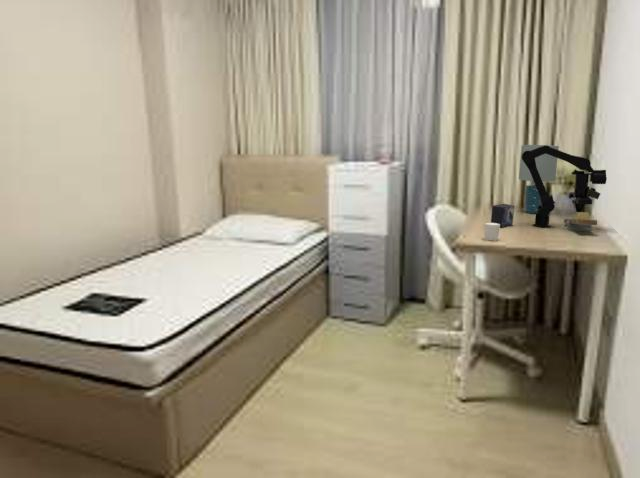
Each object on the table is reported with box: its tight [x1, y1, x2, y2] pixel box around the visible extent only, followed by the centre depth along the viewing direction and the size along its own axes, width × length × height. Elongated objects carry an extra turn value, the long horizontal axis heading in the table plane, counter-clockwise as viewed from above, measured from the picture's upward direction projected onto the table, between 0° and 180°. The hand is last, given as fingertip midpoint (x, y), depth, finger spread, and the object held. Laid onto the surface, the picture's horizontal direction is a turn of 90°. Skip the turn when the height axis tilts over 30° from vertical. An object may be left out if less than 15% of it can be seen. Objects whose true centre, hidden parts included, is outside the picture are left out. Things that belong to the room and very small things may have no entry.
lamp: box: [518, 144, 560, 215], centre depth 305 cm, size 19×19×38 cm
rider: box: [572, 211, 590, 220], centre depth 259 cm, size 7×5×4 cm
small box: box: [490, 203, 515, 229], centre depth 269 cm, size 11×6×10 cm, turn 129°
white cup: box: [483, 222, 501, 242], centre depth 239 cm, size 7×7×7 cm
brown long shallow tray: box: [563, 218, 598, 226], centre depth 259 cm, size 26×8×2 cm, turn 169°
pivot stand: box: [565, 220, 594, 236], centre depth 260 cm, size 25×11×5 cm, turn 169°
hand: (578, 215), depth 264 cm, fingers closed
